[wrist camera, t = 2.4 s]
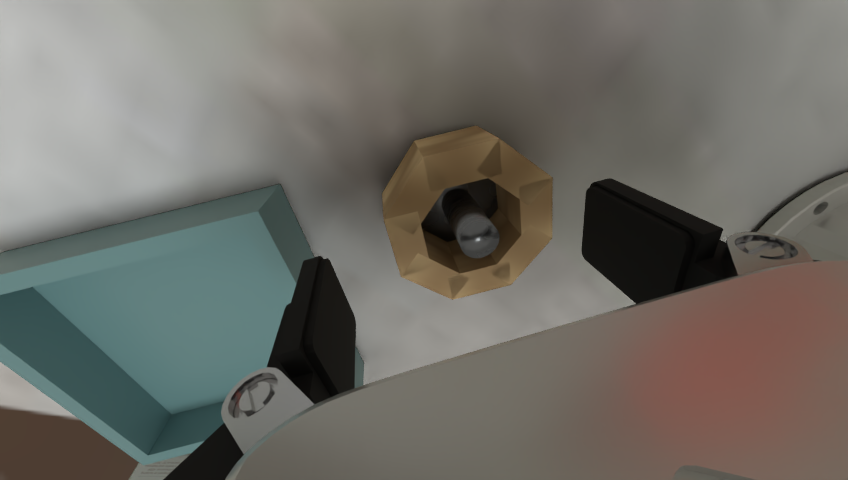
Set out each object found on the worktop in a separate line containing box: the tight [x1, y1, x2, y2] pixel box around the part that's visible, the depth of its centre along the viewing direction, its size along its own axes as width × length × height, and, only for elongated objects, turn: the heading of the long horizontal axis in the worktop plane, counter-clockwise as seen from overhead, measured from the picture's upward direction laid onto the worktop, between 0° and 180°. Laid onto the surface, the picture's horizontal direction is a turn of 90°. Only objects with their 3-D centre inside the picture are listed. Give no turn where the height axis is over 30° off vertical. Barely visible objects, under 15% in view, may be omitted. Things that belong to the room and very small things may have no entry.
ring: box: [382, 126, 553, 300], centre depth 14 cm, size 7×7×3 cm
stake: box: [421, 178, 499, 258], centre depth 14 cm, size 6×6×5 cm
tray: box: [0, 184, 364, 466], centre depth 17 cm, size 14×14×3 cm
